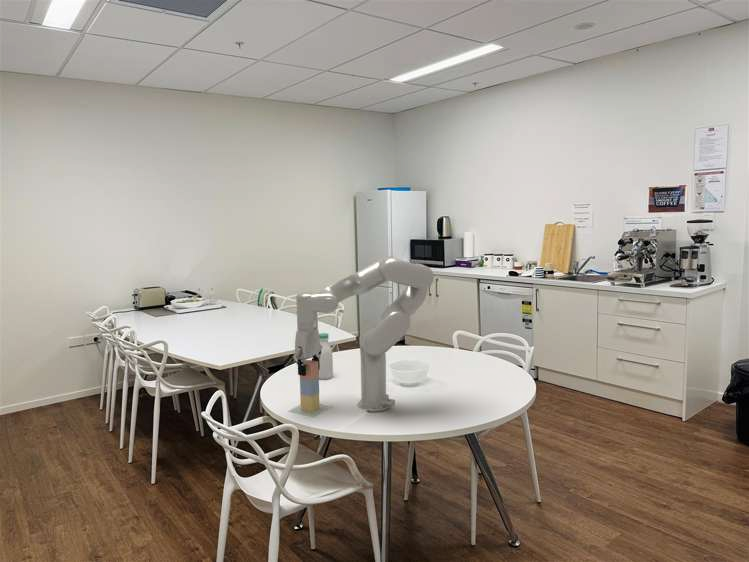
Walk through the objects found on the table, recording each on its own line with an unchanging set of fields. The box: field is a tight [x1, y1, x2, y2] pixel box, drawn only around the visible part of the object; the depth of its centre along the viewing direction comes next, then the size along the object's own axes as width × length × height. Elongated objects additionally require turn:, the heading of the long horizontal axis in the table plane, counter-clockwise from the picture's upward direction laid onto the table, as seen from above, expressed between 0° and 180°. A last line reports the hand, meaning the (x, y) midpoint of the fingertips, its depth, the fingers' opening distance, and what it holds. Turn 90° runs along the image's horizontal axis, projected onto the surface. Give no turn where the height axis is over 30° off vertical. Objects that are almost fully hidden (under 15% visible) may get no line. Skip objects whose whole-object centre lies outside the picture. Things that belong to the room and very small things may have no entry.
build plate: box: [287, 403, 333, 418], centre depth 205 cm, size 12×12×1 cm
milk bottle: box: [319, 332, 334, 380], centre depth 245 cm, size 8×8×20 cm
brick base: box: [299, 392, 320, 412], centre depth 204 cm, size 5×5×6 cm
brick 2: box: [299, 377, 320, 396], centre depth 203 cm, size 5×5×6 cm
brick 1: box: [299, 359, 319, 381], centre depth 203 cm, size 5×5×6 cm
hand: (309, 372), depth 203 cm, fingers open, 8 cm apart
